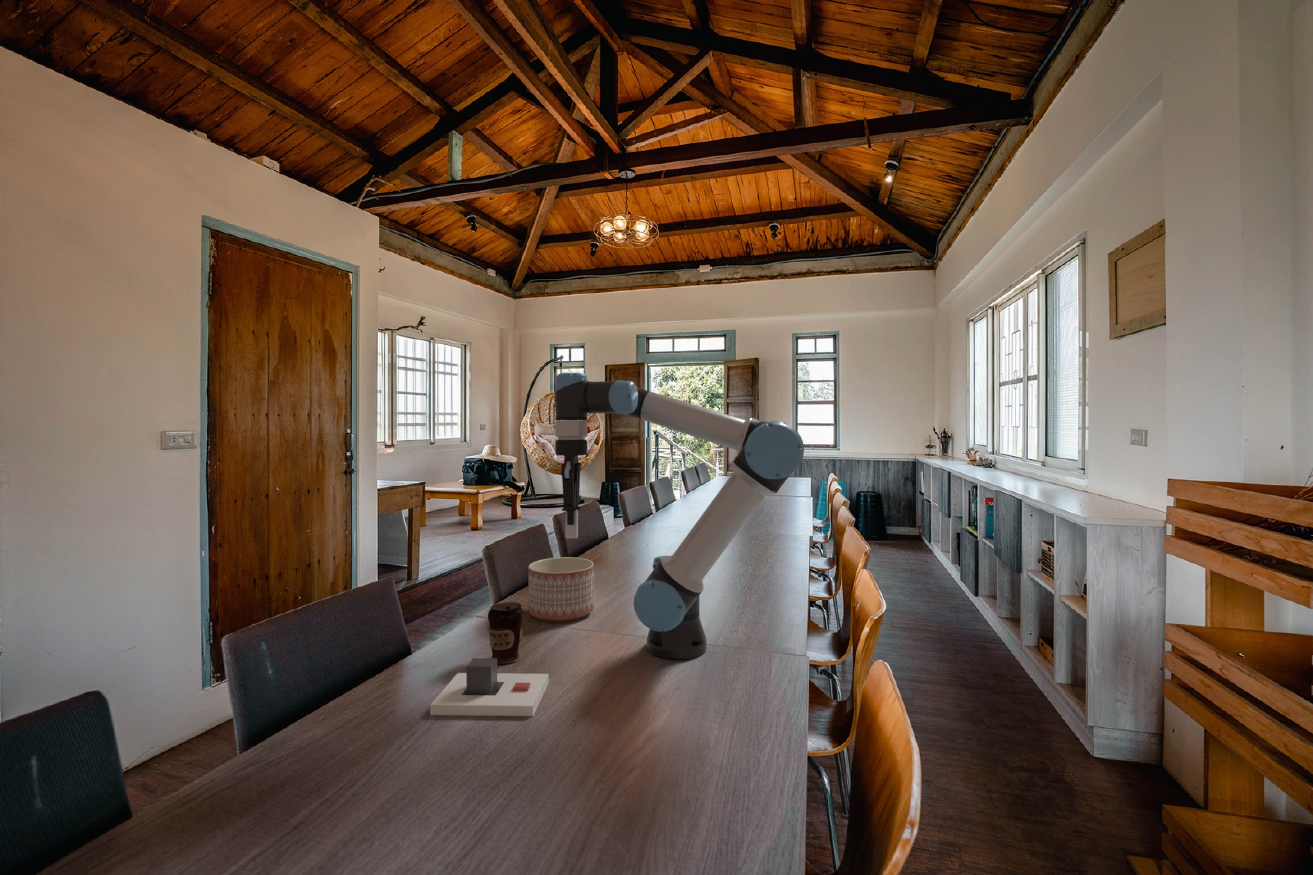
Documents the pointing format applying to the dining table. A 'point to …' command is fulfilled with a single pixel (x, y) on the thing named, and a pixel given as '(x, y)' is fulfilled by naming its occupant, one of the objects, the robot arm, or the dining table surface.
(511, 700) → the faceplate
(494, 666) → the plug
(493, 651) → the coffee cup
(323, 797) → the dining table surface
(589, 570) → the planter
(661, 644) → the robot arm
